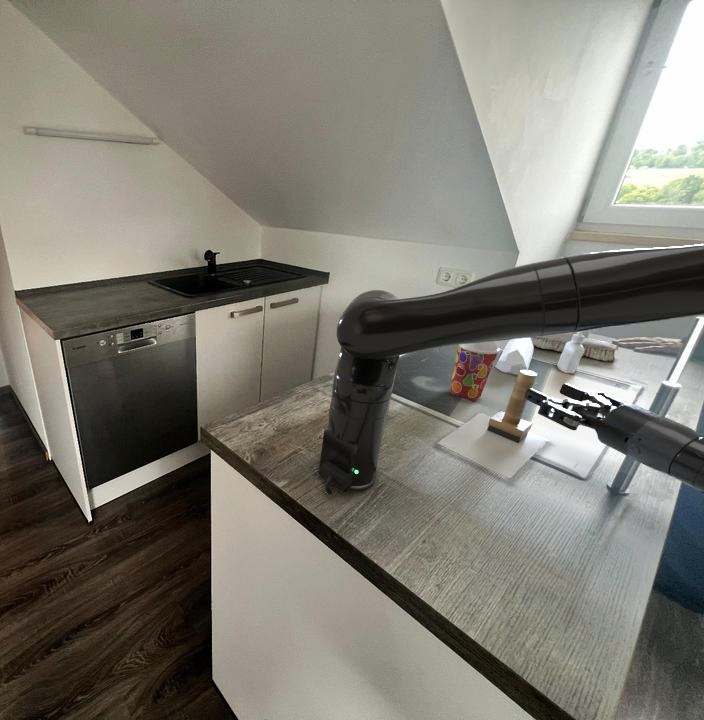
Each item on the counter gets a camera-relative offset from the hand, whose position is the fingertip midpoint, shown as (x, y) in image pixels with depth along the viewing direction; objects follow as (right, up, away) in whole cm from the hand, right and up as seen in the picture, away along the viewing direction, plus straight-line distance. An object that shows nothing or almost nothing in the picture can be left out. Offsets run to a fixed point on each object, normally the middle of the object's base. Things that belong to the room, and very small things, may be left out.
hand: (544, 390), depth 73 cm
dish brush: (-1, -10, +8) cm, 13 cm away
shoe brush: (+50, +8, +53) cm, 74 cm away
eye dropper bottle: (+39, +3, +40) cm, 56 cm away
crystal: (+28, +5, +45) cm, 53 cm away
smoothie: (0, -4, +25) cm, 25 cm away
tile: (-6, -12, +6) cm, 14 cm away
